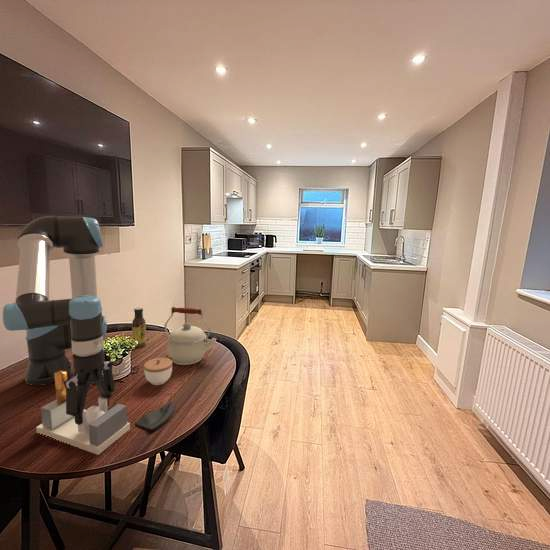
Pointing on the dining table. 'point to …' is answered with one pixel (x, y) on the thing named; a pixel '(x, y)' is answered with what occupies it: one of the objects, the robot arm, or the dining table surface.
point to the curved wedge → (156, 417)
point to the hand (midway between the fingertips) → (93, 424)
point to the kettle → (187, 340)
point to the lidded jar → (158, 370)
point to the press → (92, 431)
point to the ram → (56, 404)
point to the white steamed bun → (93, 414)
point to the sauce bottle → (139, 327)
